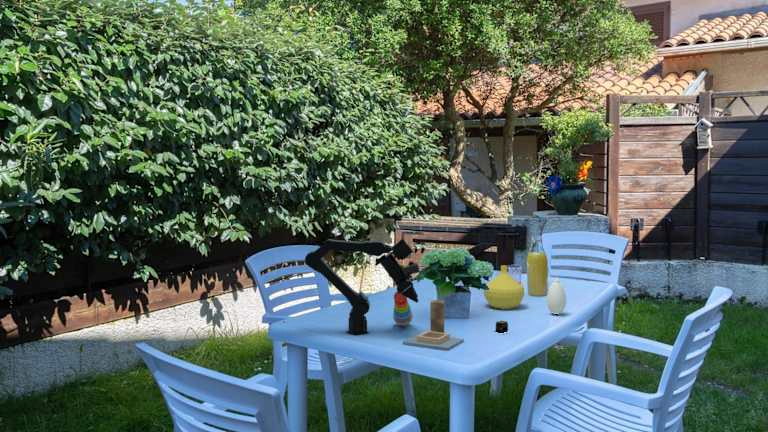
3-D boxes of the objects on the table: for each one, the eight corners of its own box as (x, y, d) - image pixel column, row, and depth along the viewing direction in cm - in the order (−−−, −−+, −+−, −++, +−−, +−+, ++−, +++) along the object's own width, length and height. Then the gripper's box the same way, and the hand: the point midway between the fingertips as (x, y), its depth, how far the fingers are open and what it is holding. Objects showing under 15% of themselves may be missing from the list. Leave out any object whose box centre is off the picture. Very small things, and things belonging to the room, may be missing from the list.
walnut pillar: (430, 336, 257) (430, 302, 256) (431, 333, 262) (431, 300, 261) (443, 336, 256) (443, 303, 255) (444, 333, 261) (444, 300, 260)
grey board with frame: (402, 344, 245) (402, 336, 245) (420, 335, 257) (420, 328, 257) (448, 350, 236) (448, 342, 236) (463, 341, 249) (463, 333, 248)
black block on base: (503, 329, 270) (503, 317, 270) (519, 332, 265) (519, 320, 264) (484, 334, 261) (484, 322, 261) (500, 337, 256) (500, 325, 256)
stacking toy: (397, 329, 272) (392, 305, 258) (390, 313, 277) (385, 288, 263) (415, 322, 273) (411, 298, 259) (409, 306, 278) (404, 282, 264)
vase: (475, 307, 310) (475, 265, 309) (500, 301, 322) (500, 261, 321) (507, 313, 296) (507, 270, 295) (532, 307, 309) (532, 265, 307)
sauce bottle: (558, 317, 287) (558, 275, 286) (543, 314, 294) (543, 273, 292) (569, 314, 292) (569, 273, 291) (554, 312, 298) (554, 271, 297)
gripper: (409, 258, 251) (435, 291, 252) (408, 252, 270) (432, 283, 271) (386, 276, 252) (411, 309, 253) (386, 269, 271) (410, 299, 271)
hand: (417, 299), depth 262 cm, fingers open, 9 cm apart
